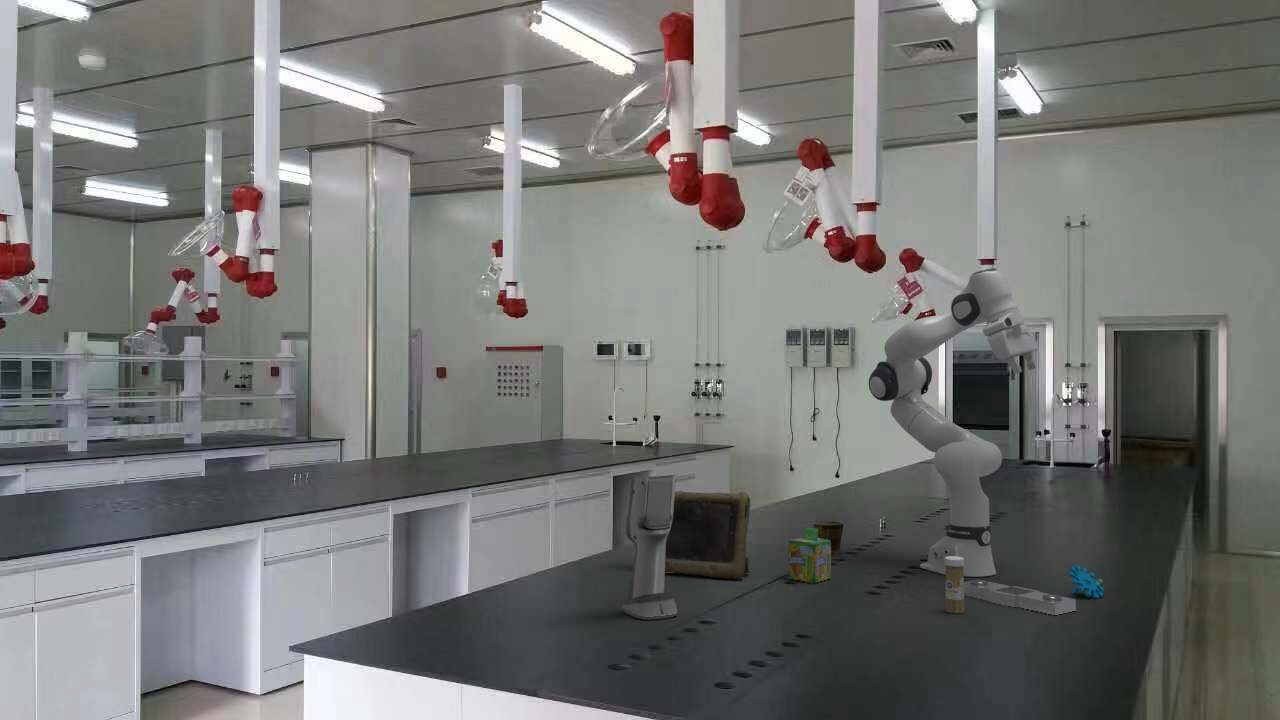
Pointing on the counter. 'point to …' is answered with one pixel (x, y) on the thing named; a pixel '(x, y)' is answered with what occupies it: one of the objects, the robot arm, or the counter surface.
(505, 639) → the counter surface
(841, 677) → the counter surface
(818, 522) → the brown tapered cylinder
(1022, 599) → the grey long flat block
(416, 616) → the counter surface
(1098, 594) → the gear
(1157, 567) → the counter surface
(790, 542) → the chalk box
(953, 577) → the sprinkles bottle
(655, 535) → the thermal camera
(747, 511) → the brown frame
